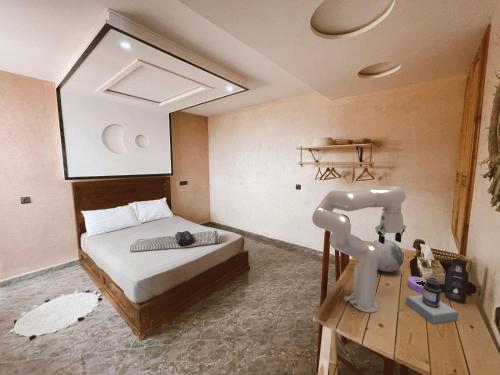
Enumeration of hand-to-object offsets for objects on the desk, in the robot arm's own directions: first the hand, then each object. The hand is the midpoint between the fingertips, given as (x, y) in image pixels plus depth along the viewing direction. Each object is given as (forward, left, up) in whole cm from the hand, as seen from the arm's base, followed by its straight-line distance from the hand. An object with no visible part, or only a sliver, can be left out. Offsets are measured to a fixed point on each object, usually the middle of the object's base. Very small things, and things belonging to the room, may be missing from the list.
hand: (389, 242), depth 108 cm
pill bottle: (+9, -16, -24) cm, 31 cm away
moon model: (+17, +21, -28) cm, 39 cm away
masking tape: (+22, 0, -29) cm, 36 cm away
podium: (+9, -16, -28) cm, 34 cm away
